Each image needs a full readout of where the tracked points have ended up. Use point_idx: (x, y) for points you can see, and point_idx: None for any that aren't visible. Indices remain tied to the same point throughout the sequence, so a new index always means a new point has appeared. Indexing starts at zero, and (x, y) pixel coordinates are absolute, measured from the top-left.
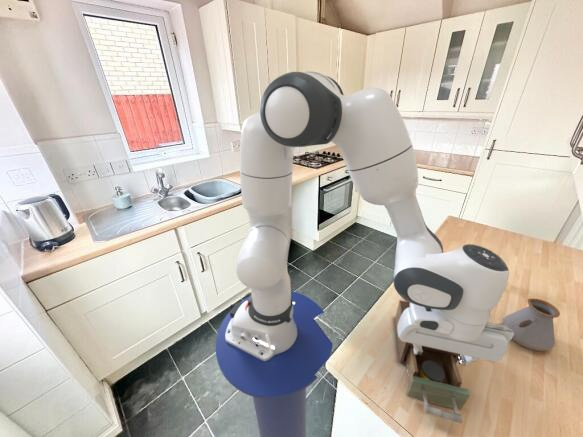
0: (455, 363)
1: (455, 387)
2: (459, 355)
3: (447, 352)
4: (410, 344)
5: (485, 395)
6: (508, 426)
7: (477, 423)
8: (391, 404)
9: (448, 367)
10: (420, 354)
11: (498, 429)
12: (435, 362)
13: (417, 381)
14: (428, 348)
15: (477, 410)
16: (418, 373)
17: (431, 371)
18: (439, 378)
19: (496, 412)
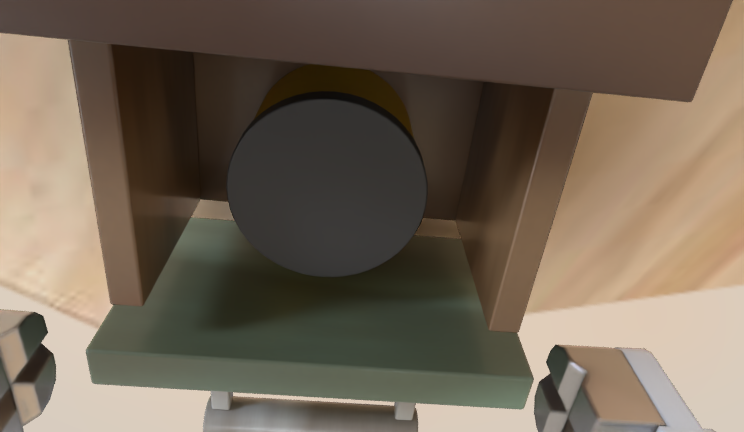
0: (562, 169)
1: (435, 383)
2: (582, 413)
3: (527, 83)
4: (31, 33)
5: (708, 134)
6: (707, 272)
7: (546, 284)
8: (88, 271)
9: (506, 98)
10: (22, 414)
11: (641, 292)
12: (376, 112)
13: (126, 385)
14: (285, 56)
15: (590, 226)
16: (254, 110)
17: (307, 208)
18: (359, 257)
19: (697, 219)
